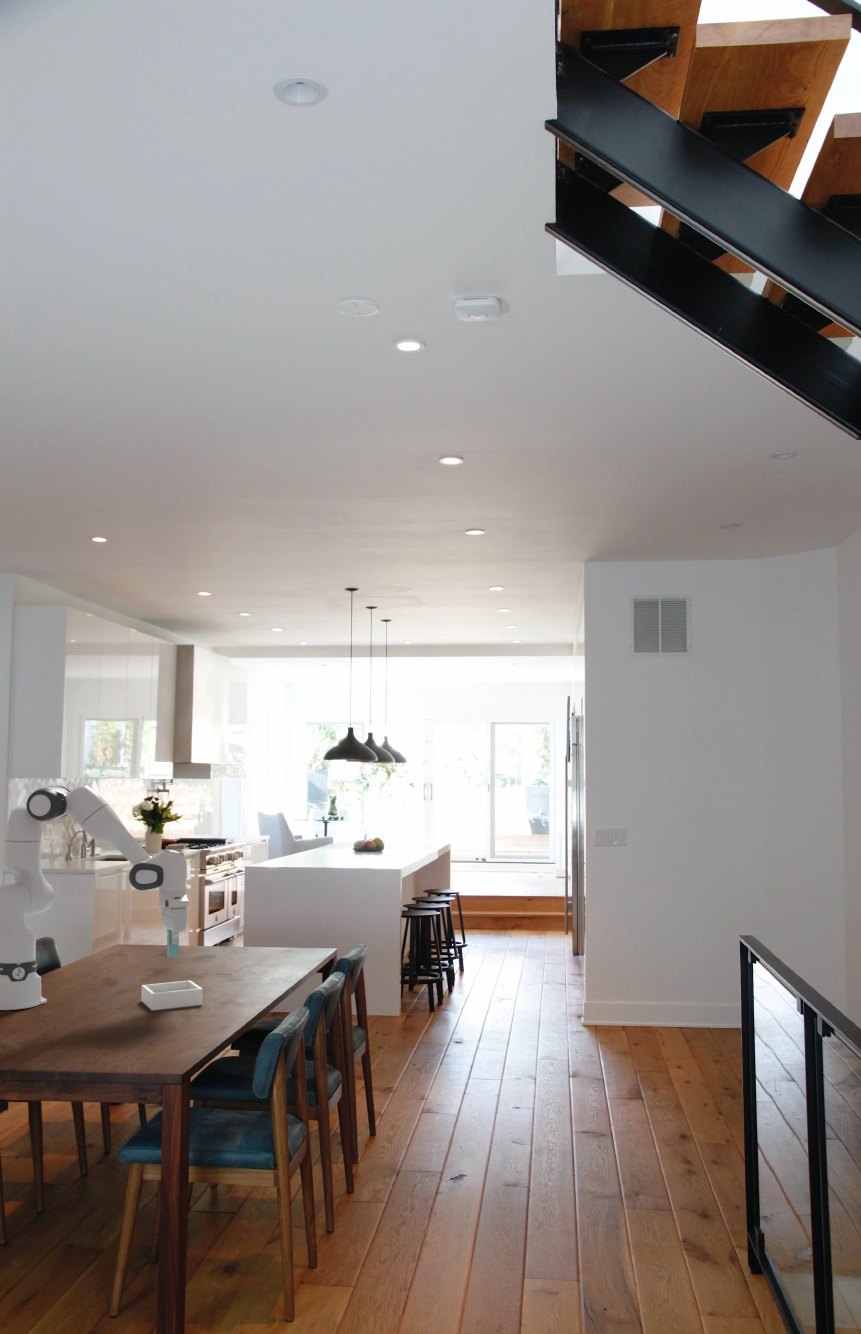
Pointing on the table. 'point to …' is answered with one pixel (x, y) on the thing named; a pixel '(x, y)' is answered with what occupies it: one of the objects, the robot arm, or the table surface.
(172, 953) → the peg
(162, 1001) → the box
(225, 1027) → the table surface
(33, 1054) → the table surface
